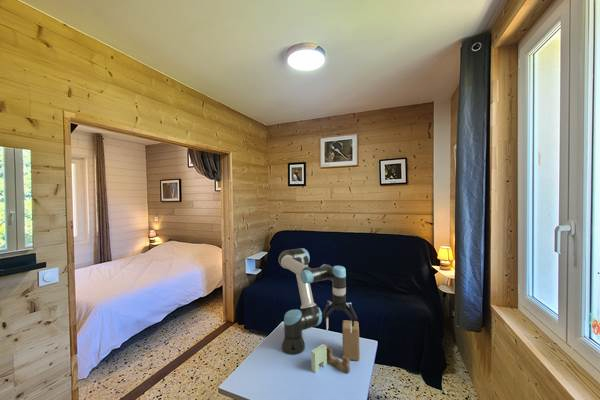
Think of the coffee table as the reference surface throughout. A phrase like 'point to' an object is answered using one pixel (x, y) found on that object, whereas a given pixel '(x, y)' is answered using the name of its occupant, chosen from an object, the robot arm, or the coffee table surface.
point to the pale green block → (319, 357)
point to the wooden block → (351, 340)
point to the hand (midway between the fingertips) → (339, 330)
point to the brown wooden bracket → (338, 361)
